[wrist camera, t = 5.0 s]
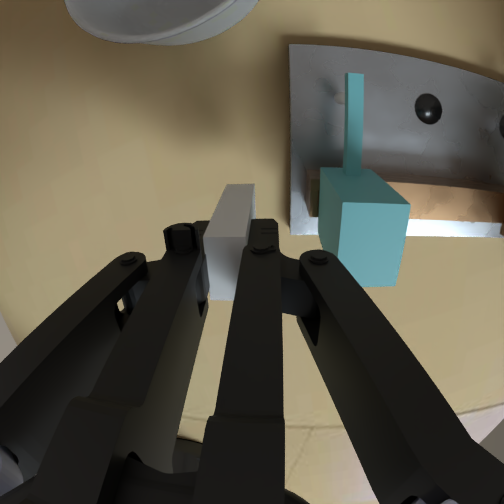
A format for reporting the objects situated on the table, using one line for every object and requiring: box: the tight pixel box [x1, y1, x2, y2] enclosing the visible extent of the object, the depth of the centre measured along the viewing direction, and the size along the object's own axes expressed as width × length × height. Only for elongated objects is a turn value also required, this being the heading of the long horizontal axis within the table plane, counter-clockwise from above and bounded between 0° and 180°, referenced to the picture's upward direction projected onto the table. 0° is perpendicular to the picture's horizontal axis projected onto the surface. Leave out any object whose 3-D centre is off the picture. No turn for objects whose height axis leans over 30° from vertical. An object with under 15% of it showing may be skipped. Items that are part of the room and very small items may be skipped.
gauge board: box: [288, 44, 504, 238], centre depth 16 cm, size 20×13×9 cm, turn 92°
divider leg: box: [318, 73, 411, 287], centre depth 15 cm, size 3×9×8 cm, turn 2°
